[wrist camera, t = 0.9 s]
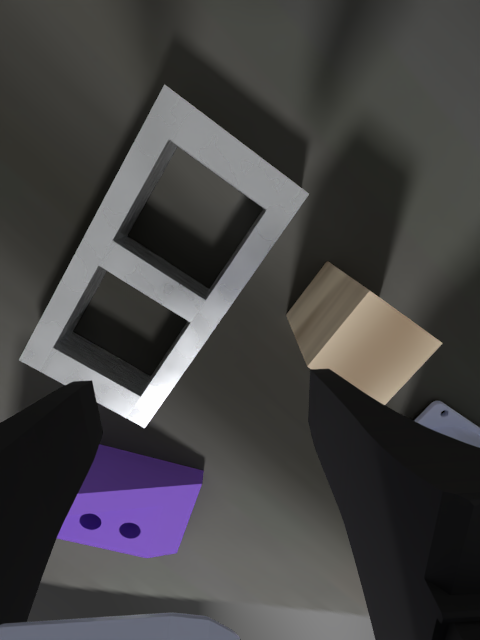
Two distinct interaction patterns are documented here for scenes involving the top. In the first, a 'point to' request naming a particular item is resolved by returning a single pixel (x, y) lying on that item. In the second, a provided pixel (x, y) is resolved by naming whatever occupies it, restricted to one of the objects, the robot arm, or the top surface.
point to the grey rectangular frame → (158, 260)
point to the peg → (358, 335)
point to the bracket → (132, 504)
